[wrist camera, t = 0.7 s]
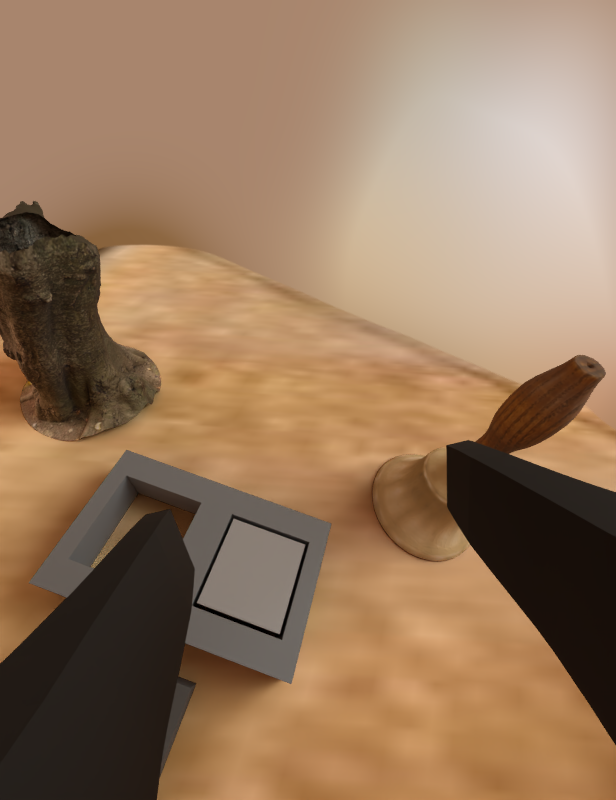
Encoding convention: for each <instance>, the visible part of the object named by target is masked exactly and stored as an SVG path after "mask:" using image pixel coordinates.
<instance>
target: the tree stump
mask: <svg viewBox="0 0 616 800" xmlns="http://www.w3.org/2000/svg"><path fill="white" fill-rule="evenodd" d="M100 271H101V270H100V255H99V252H98V249H97V247H96V246H95V245H94V244H92V243H90V242H89V241H88V240H86V239H85V238H84V237H82V236H80V235H74V234H72V233H71V232H67V231H64V230H61V229H59V228H58V227H56V226H54V225H52V224H50V223H49V222H48V221H47V220H46V219H45V218H44V216H43V211H42V209H41V208H40V206H39V204H38V202H36V201H33V204H32V205H27V204H26V203H25V202H23V201H22V202H20V204H19V205H17V206H16V209H15V210H14V211H12V212H9V213H7V214H6V215H5V216H4V217H3V218H0V335H1V337H2V339H3V341H4V342H3V348H4V349H3V350H4V352H5V353H6V355H7V356H8V357H10V358H11V359H14V360H17V362H18V364H19V366H20V369H21V371H22V372H23V373H24V375H25V377H26V378H27V380H28V381H27V382H26V384H25V386H24V388H23V390H22V394H21V397H20V403H21V408H22V412H23V415H24V417H25V418H26V420H27V421H28V423H29V424H30V425H31V426H32V427H33V428H34V429H35V430H37V431H38V432H40V433H42V434H43V435H45V436H48V437H51V438H54V439H58V440H66V441H74V440H80V438H82V437H86V436H91V435H95V434H97V433H99V432H101V431H103V430H106V429H110V428H115V427H117V426H119V425H122V424H124V423H126V422H128V421H130V420H131V419H132V418H134V417H135V416H137V414H138V413H139V412H140V411H141V410H142V409H143V407H144V406H145V405H146V404H148V403H150V404H152V403H153V399H154V395H155V393H156V391H160V386H161V378H160V373H159V370H158V368H157V366H156V365H155V364H154V362H153V361H152V360H151V359H150V358H149V357H148V356H147V355H146V354H145V353H144V352H141V351H139V350H136V349H134V348H131V347H127V346H122V345H120V344H117V343H116V342H114V341H113V340H112V339H111V337H110V336H109V335H108V334H107V332H106V331H105V329H104V327H103V325H102V323H101V320H100V317H99V314H98V309H97V303H98V300H99V296H100V286H101V282H100V279H101V277H100Z"/></svg>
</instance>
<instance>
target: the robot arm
mask: <svg viewBox="0 0 616 800" xmlns="http://www.w3.org/2000/svg"><path fill="white" fill-rule="evenodd" d="M446 452H447V508H448V510H449V511H450V513H451V515H452V516H453V518H454V520H455V522H456V523H457V525H458V527H459V528H460V530H461V531H462V533H463V534H464V536H465V538H466V539H467V541H468V542H469V543H470V545H471V546H472V547H473V549H474V550H475V551H476V553H477V554H478V555H479V556H480V558H481V559H482V560H483V561H484V563H485V564H486V565H487V567H488V568H489V569H490V570H491V572H492V573H493V574H494V575H495V577H496V578H497V579H498V580H499V582H500V583H501V584H502V585H503V587H504V588H505V589H506V590H507V592H508V593H509V594H510V595H511V597H512V598H513V599H514V600H515V602H516V603H517V604H518V605H519V607H520V608H521V609H522V610H523V612H524V613H525V614H526V616H527V617H528V618H529V619H530V621H531V622H532V623H533V624H534V626H535V627H536V628H537V629H538V631H539V632H540V634H541V635H542V636H543V638H544V639H545V640H546V642H547V643H548V644H549V646H550V647H551V648H552V650H553V651H554V653H555V654H556V656H557V657H558V659H559V660H560V661H561V663H562V664H563V666H564V667H565V669H566V670H567V672H568V673H569V675H570V676H571V678H572V679H573V681H574V682H575V684H576V685H577V687H578V688H579V690H580V691H581V693H582V694H583V696H584V697H585V699H586V700H587V702H588V703H589V705H590V706H591V708H592V709H593V711H594V712H595V714H596V715H597V717H598V719H599V720H600V722H601V723H602V725H603V726H604V728H605V729H606V731H607V732H608V734H609V736H610V737H611V739H612V740H613V742H614V743H615V745H616V492H613V491H610V490H607V489H604V488H601V487H598V486H595V485H592V484H589V483H586V482H583V481H580V480H577V479H574V478H572V477H569V476H566V475H563V474H560V473H558V472H555V471H552V470H550V469H547V468H544V467H541V466H539V465H536V464H533V463H531V462H528V461H525V460H523V459H520V458H517V457H515V456H512V455H510V454H507V453H504V452H502V451H499V450H496V449H493V448H491V447H488V446H485V445H482V444H479V443H476V442H473V441H469V440H467V441H463V442H459V443H454V444H450V445H446ZM194 574H195V568H194V565H193V563H192V560H191V558H190V556H189V553H188V551H187V548H186V546H185V544H184V541H183V539H182V536H181V534H180V531H179V529H178V527H177V524H176V522H175V519H174V517H173V515H172V512H171V510H170V509H168V510H164V511H160V512H155V513H151V514H147V515H145V516H144V517H143V518H142V519H141V520H139V521H138V522H137V523H136V524H135V526H134V527H133V528H132V529H131V530H130V531H129V532H128V533H127V534H126V535H125V536H124V537H123V538H122V539H121V540H120V541H119V543H118V544H117V545H116V546H115V547H114V548H113V549H112V550H111V551H110V552H109V553H108V554H107V556H106V557H105V558H104V559H103V560H102V561H101V562H100V563H99V564H98V565H97V566H96V567H95V568H94V569H93V571H92V572H91V573H90V574H89V575H88V576H87V577H86V578H85V579H84V580H83V581H82V582H81V583H80V584H79V586H78V587H77V588H76V589H75V590H74V591H73V592H72V593H71V594H70V595H69V596H68V597H67V598H66V599H65V600H64V601H63V602H62V603H61V604H60V605H59V606H58V607H57V608H56V609H55V610H54V611H53V612H52V613H51V614H50V615H49V616H48V617H47V618H46V619H45V620H44V621H43V622H42V623H41V624H40V625H39V626H38V627H37V628H36V629H35V630H34V631H33V632H32V633H31V634H30V635H29V636H28V637H27V638H26V639H25V640H24V641H23V642H22V643H21V644H20V645H19V646H18V647H17V648H16V649H15V650H14V651H13V652H12V653H11V654H10V655H9V656H8V657H7V658H6V659H5V660H4V661H3V662H2V663H1V664H0V800H157V793H158V785H159V777H160V769H161V762H162V756H163V750H164V744H165V739H166V733H167V728H168V723H169V718H170V713H171V708H172V704H173V699H174V694H175V689H176V684H177V680H178V675H179V670H180V665H181V660H182V656H183V651H184V646H185V641H186V636H187V631H188V626H189V621H190V616H191V609H192V599H193V588H194Z"/></svg>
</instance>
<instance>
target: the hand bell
mask: <svg viewBox="0 0 616 800" xmlns="http://www.w3.org/2000/svg"><path fill="white" fill-rule="evenodd" d="M605 374H606V372H605V370H604V368H603V367H602V366H601V365H600V364H599V363H598V362H597V361H596V360H594V359H593V358H590V357H588V356H585V355H577V356H575V357H574V358H572V359H571V360H569V361H567V362H565V363H564V364H562V365H560V366H557V367H555V368H553V369H551V370H549V371H546V372H544V373H542V374H540V375H537V376H535V377H534V378H532V379H530V380H528V381H527V382H525V383H524V384H523V385H521V386H520V387H519V388H518V389H517V390H516V391H514V392H513V393H512V394H511V395H510V396H509V397H508V399H507V400H506V401H505V402H504V403H503V404H502V405H501V407H500V408H499V409H498V411H497V412H496V414H495V415H494V417H493V420H492V422H491V424H490V426H489V428H488V430H487V431H486V433H485V434H484V435H483V436H482V437H481V438H479V439H478V440H477V441H476V443H479V444H482V445H485V446H488V447H491V448H493V449H496V450H499V451H502V452H504V453H507V454H509V453H511V452H514V451H517V450H521V449H525V448H528V447H531V446H533V445H536V444H538V443H540V442H542V441H544V440H546V439H547V438H549V437H551V436H552V435H554V434H555V433H557V432H558V431H560V430H561V429H562V428H564V427H565V426H567V425H568V424H569V423H570V422H571V421H572V420H573V419H574V418H575V417H576V416H577V414H578V413H579V412H580V411H581V409H582V408H583V406H584V405H585V403H586V402H587V400H588V398H589V397H590V395H591V393H592V392H593V390H594V388H595V387H596V386H597V384H598V383H599V382H600V381H601V380H602V378H604V376H605ZM372 498H373V505H374V509H375V512H376V515H377V518H378V520H379V522H380V524H381V525H382V527H383V529H384V530H385V531H386V533H387V534H388V535H389V537H390V538H391V539H392V540H393V541H394V542H395V543H396V544H397V545H398V546H400V547H401V548H403V549H404V550H405V551H407V552H408V553H410V554H412V555H414V556H417V557H419V558H422V559H426V560H431V561H444V560H449V559H452V558H455V557H457V556H458V555H460V554H461V553H462V552H464V551H465V550H466V549H467V548H468V546H469V545H470V543H469V542H468V541H467V539H466V538H465V536H464V534H463V533H462V531H461V530H460V528H459V527H458V525H457V523H456V522H455V520H454V518H453V516H452V515H451V513H450V511H449V510H448V508H447V452H446V447H444V448H438V449H436V450H433V451H432V452H430V453H429V454H428V455H426V456H423V455H417V454H407V455H401V456H397V457H395V458H393V459H391V460H389V461H388V462H386V463H385V464H384V465H383V466H382V467H381V468H380V469H379V471H378V473H377V475H376V477H375V480H374V484H373V490H372Z"/></svg>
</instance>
